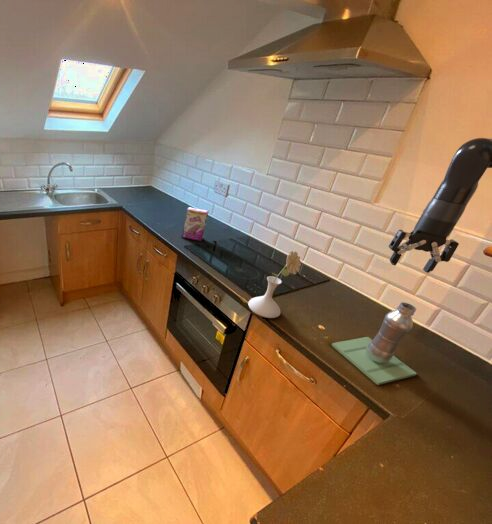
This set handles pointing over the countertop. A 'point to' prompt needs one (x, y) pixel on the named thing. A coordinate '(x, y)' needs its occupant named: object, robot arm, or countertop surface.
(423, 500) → the countertop surface
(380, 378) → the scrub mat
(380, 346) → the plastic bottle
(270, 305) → the flower in vase
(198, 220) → the pink beige food bag
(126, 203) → the countertop surface
